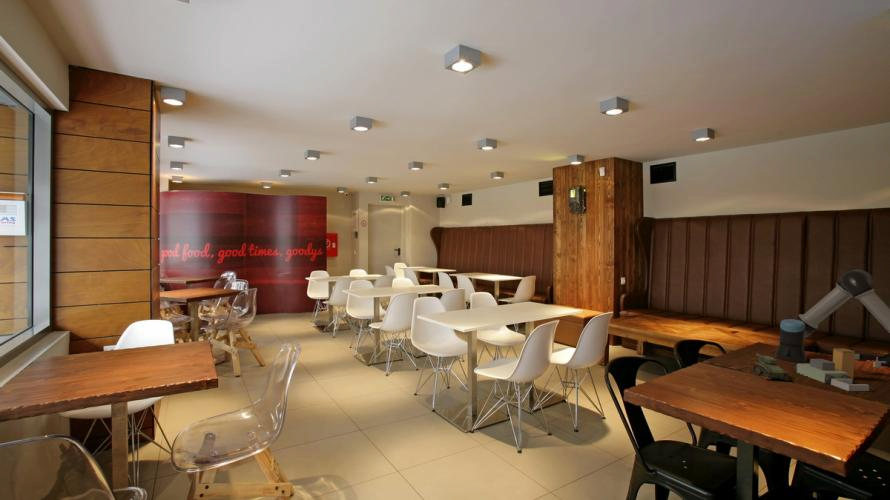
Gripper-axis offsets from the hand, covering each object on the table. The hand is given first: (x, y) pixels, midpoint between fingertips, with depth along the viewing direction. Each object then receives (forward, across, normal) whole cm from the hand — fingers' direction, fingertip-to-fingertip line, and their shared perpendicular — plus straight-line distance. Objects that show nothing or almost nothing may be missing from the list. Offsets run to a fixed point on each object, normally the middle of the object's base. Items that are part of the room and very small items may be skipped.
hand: (860, 360), depth 231 cm
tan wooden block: (+10, 0, -9) cm, 14 cm away
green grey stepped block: (+22, -5, -9) cm, 24 cm away
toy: (+50, +3, -10) cm, 51 cm away
